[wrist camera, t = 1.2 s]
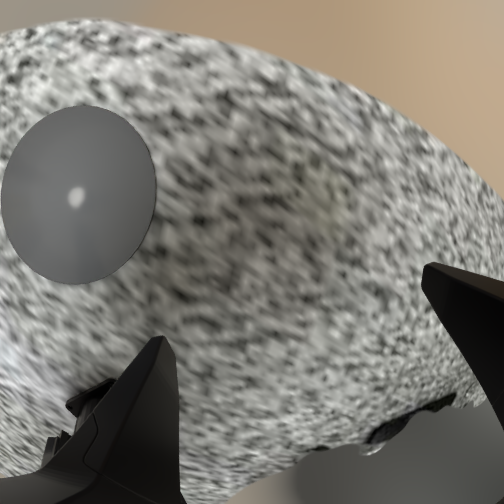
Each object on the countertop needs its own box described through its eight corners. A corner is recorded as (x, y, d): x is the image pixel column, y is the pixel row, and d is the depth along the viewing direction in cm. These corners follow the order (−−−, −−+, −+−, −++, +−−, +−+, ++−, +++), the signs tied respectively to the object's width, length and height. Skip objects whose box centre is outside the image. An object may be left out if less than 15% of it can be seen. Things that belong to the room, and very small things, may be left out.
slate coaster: (56, 311, 16) (54, 313, 16) (-16, 175, 12) (-19, 175, 12) (188, 223, 18) (189, 224, 18) (110, 76, 14) (109, 73, 14)
